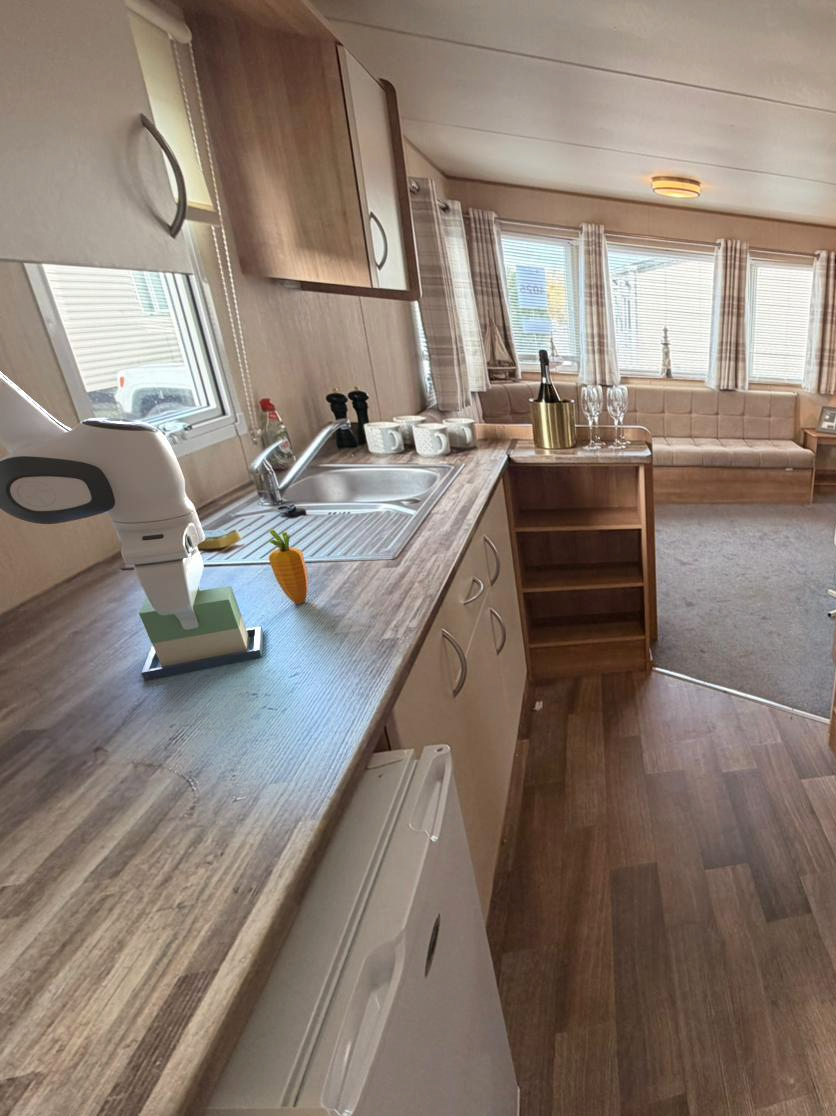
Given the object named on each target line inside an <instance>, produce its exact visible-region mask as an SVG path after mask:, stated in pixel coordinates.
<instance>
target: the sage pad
mask: <svg viewBox="0 0 836 1116" xmlns="http://www.w3.org/2000/svg"><path fill="white" fill-rule="evenodd" d="M193 610H194V612H195V614H197V617H198V620H199V626H198V627H197V628H194V629H188V630H185V629H183V628H182V625H181V623H180V620H179V619H178V618H177V617H176V616H175V614H171V615H160V614H159V613H157V612H156V610H155V609H154V608H153V607H152V605H151V603H150V601H149V599H148V597H146V598H145V599H144V601H143V604H142V605H141V609H140V610H139V613H138V614H139V617H140V619H141V621H142V622H141V623H142V624H143V626H144V629H145V631H146V634H147V636H148V638H149V640H150V643H151V644H152V643H158V642H163V641H169V640H175V639H180V638H186V637H192V636H197V635H203V634H209V633H214V632H220V631H226V630H231V629H237V628H239V623H240V615H242V613H241V611H240V606H239V605H238V602H237V598H236V596H235V593H234V590H233V587H232V586H231V585H229V586H222V587H221V586H220V587H215V588H208V589H202V590H201V589H200V591H197V594H196V597H195V601H194V604H193Z"/></svg>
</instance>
